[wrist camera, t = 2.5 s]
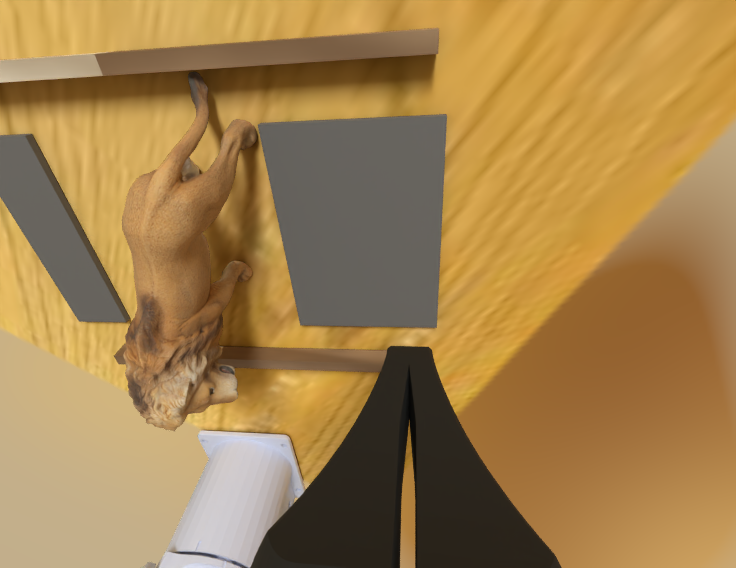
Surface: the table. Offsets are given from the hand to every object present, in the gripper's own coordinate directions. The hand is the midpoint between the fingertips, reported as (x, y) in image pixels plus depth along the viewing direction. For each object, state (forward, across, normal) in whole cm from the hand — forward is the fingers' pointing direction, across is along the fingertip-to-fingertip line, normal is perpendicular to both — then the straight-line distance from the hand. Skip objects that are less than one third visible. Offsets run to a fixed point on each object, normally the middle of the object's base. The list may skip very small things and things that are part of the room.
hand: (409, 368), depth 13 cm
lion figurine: (+10, +10, 0) cm, 14 cm away
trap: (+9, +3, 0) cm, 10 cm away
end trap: (+9, +21, 0) cm, 23 cm away
